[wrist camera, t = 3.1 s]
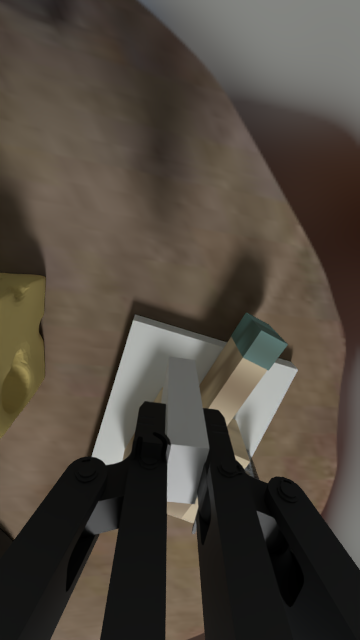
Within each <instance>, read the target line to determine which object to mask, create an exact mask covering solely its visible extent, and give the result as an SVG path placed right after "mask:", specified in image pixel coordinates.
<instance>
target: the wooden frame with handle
mask: <svg viewBox="0 0 360 640" xmlns="http://www.w3.org/2000/svg"><path fill="white" fill-rule="evenodd" d="M287 345H288V344H287V343H286V342H285V341H284V340H283V339H282V338H281V337H280V336H279V335H278V334H277V333H276V332H275V331H274V330H273V329H272V328H271V326H270V325H269V324H267V323H265V322H263V321H261V320H259V319H257V318H256V317H254V316H252V315H250V314H248V313H245V315H244V316H243V318H242V320H241V321H240V323H239V324H238V326H237V327H236V329H235V330H234V332H233V333H232V335H231V337H230V339H229V341H228V342H227V344H226V345H225V347H224V348H223V350H222V351H221V353H220V354H219V356H218V357H217V359H216V361H215V362H214V364H213V365H212V367H211V368H210V370H209V371H208V373H207V374H206V376H205V377H204V379H203V381H202V382H201V384H200V385H199V388H200V394H201V400H202V406H203V408H208V409H216V410H219V411H220V412H221V414H222V415H223V416H224V417H225V421H226V425H227V429H228V432H229V433H228V434H229V436H230V440H231V444H232V447H233V451H234V455H235V459H236V460H237V461H238V462H239V463H240V464H241V465H242V466H243V468H244V469H245V468H246V467H247V465H248V464H249V463H250V459H249V456H248V453H247V450H246V447H245V445H244V442H243V439H242V436H241V433H240V430H239V427H238V424H237V421H236V420H235V419H233V417H234V416H235V414H236V413H237V412H238V410H239V409H240V407H241V406H242V405H243V403H244V402H245V401H246V399H247V398H248V396H249V395H250V394H251V392H252V391H253V389H254V388H255V387H256V385H257V384H258V383H259V381H260V380H261V378H262V377H263V376H264V374H265V373H266V371H267V370H268V371H269V370H270V368H271V367H272V365H273V364H274V363H275V361H276V360H277V359H278V357H279V356H280V354H281V353H282V352H283V350H284V349H285V347H286V346H287ZM162 392H163V387H162V389H161V390H160V392H159V394H158V395H157V397H156V399H155V400H154V402H156V403H161V399H162ZM134 436H135V433H134V435H133V436H132V438H131V440H130V441H129V443H128V445H127V446H126V448H125V450H124V455H123V460H124V459H126V458H127V457H128V456H129V455H130V453H131V451H132V444H133V440H134ZM197 510H198V497H197V498H196V502H195V504H187V503H176V502H167V514H169V515H171V516H174V517H177V518H180V519H183V520H186V521H189V522H191V523H194V521H195V517H196V513H197Z"/></svg>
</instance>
